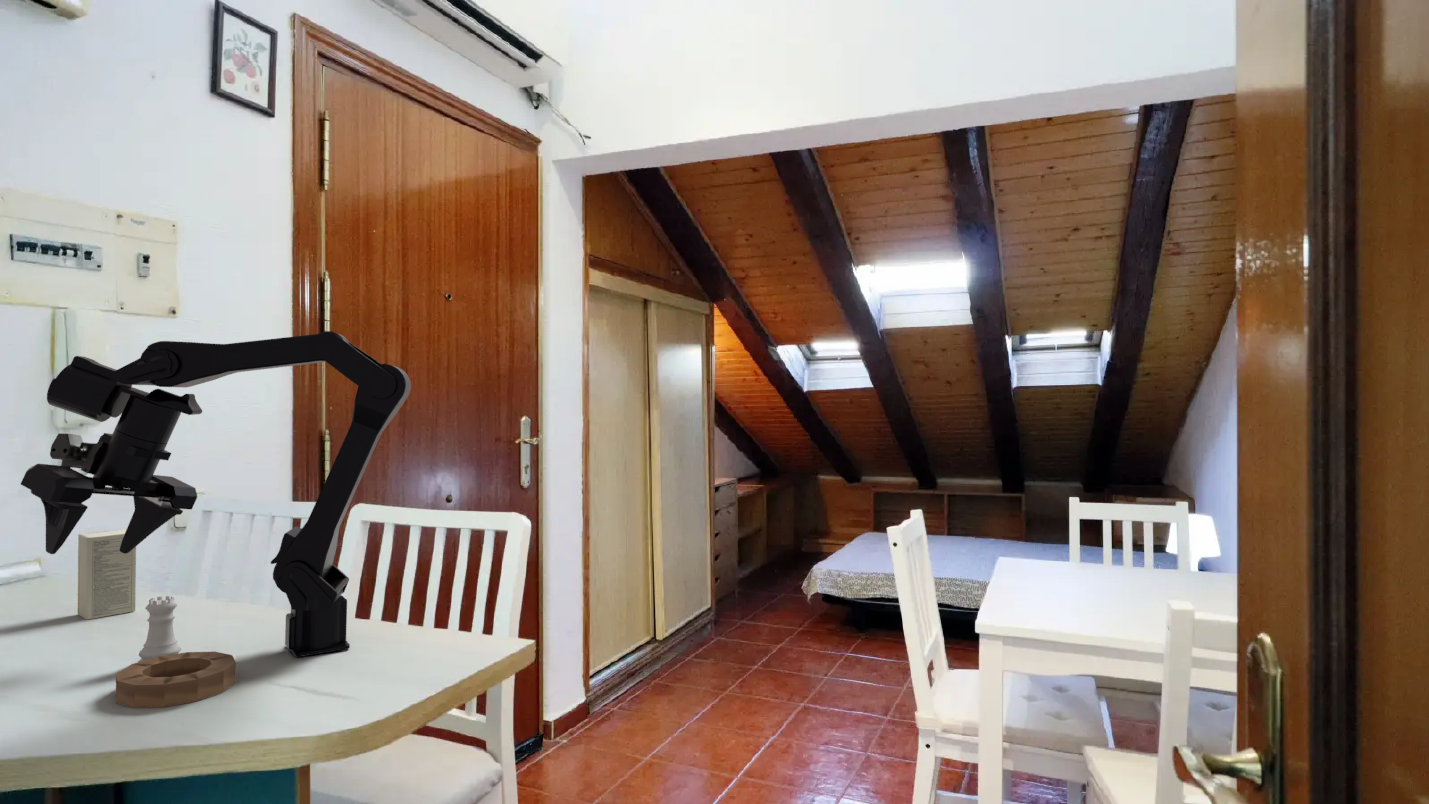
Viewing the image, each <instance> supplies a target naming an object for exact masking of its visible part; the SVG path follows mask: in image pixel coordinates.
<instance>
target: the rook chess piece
mask: <svg viewBox="0 0 1429 804" xmlns="http://www.w3.org/2000/svg"><path fill="white" fill-rule="evenodd" d="M177 607H178V604H177V603H176V601H175V597H174V596H171V595H167V596H165V599H163V596H157V597H156V598H155V597H152V598H150V599H149V600H148V604H147V605H146V606H145V608H144V609H145V610H146V611H147V612H148V613H149V617H148V619H146V621H147V622H148V629H147V630H148V631H147V636H146V640H145V643H144V644H143V648H142V649H141V650H140V651H139V653H138V656H139V657H140V659H139V660H138V661H137V662H141V661H144V660H148V659H151V658H155V657H158V656H165V655H172V654H179V653H180V652H181V650H182V648H181V646H180V645H179V644H178V640H177V639H176V638H175V632H174V619H175V618H176V617H175V615H174V614H173V613H174V610H175V609H176V608H177Z"/></svg>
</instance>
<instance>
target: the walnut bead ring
mask: <svg viewBox="0 0 1429 804" xmlns="http://www.w3.org/2000/svg"><path fill="white" fill-rule="evenodd" d="M236 665H237V661H236V660H235V657H234V656H233V654H229V653H225V652H224V653H223V652H219V651H186V652H181V653H180V652H179V653H178V654H172V655H165V656H158V657H155V658H151V659H148V660H144V661H141V662H138V661H137V662H134V663H131V664H130V665H128V666H125V667H124V668H122V669H121V670H119V671H117V672H115V701H116V702H115V704H118V705H121V706H127V707H129V708H134V709H137V708H140V709H141V708H143V709H144V708H165V707H166V708H168V707H171V706H178V705H183V704H188V703H194V702H199V701H201V700H204V699H208V698H210V697H212V696H216V695H218V694H222V693H223V692H225V691H227V690H228V689H229V688H230V687H231V686H233V685H234V684H236V674H237V673H236V670H237V669H236V668H237V666H236Z"/></svg>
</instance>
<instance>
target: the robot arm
mask: <svg viewBox="0 0 1429 804" xmlns="http://www.w3.org/2000/svg"><path fill="white" fill-rule="evenodd" d="M319 363H327V364H329V365H330V366H331V367H332V368H334V369H335V370H337V371H338V372H339V373H340V374H342V375H343V376H344V377H345V378H347V379H349V380H350V381H351V382H353V383H354V384H355V385H357V386H358V387H357V390H356V395H355V399H354V404H353V409H352V418H351V423H350V426H349V428H348V430H347V433H346V435H345V437H344V439H343V441H342V443H341V447H340V449H339V451H338V453H337V455H336V457H335V459H334V462H333V464H332V466H331V468H330V471H329V472H328V474H327V478H326V479H325V481H324V483H323V486H322V488H321V491H320V493H319V494H318V497H317V500H316V501H315V504H314V506H313V508H312V511H311V513H310V515H309V517H308V519H307V521H306V523H305V524H304V525H303V526H302V528H301V527H299V526H297V525H296V526H293V528H291V529H289V530H288V531H286V532H285V533H283V536H282V540H281V543H280V547H279V550H278V553H277V554H276V555H275V557H274V558H273V559H272V560H271V561H270V564H271V565H274V564H275V566H274V568H273V571H272V580H273V581H274V583H275V586H276V588H278V589H279V590H280V591H281V592H282V593H284V594H286V597H287V599H288V603H289V605H290V612H289V613H286V614H285V630H284V632H285V633H284V634H285V636H284V645H285V646H286V647H287V649H288V650H289V651H290V652H291V653H292V655H294V657H295V658H299V657H306V656H312V655H317V654H318V655H319V654H324V653H330V652H336V651H342V650H348V649H350V645H351V644H350V643H349V642H348V641H347V620H348V618H347V617H348V616H347V615H348V611H347V610H348V599H347V598H346V597H344V596H343V595H342V594H344V593H345V591H346V589H347V587H348V584H349V582H350V578H349V577H348V576H347V574H345V573H344V572H343V571H342V570H340V569H339V568H338V567H337V566H336V565H335V564H333V563H334V560H335V555H336V552H337V551H336V550H337V547H338V542H339V541H338V540H339V533H340V527H341V524H342V523H343V520H344V518H345V516H346V514H347V511H348V510H349V507H350V504H351V502H352V500H353V498H354V496H355V493H356V491H357V489H358V486H359V484H360V482H361V480H362V478H363V476H364V473H365V471H366V469H367V466H368V464H369V462H370V460H371V458H372V455H373V453H374V452H375V451H374V450H375V448H376V447H377V444H378V443H379V440H380V437H381V435H382V433H383V432H384V431H385V429H386V428H387V427H388V425H389V424H390V423H391V421H392V420H393V418H394V417H395V416H396V415H397V414H398V412H399V411H400V409H401V407H403V405H404V403H405V402H406V400H408V397H409V395H410V393H411V391H412V381H411V379H410V378H409V375H408V374H407V373H406V372H405V370H404V369H402V368H401V367H398V366H396V365H391V364H387V363H381V362H379V361H378V360H377V359H375V358H374V357H372V356H371V355H369V354H368V353H366V352H365V351H363V350H362V349H360V348H359V347H357V346H355V345H354V344H353V343H351V342H350V341H349V340H348V339H347V338H346V337H345V336H344V335H343V334H340V333H337V332H335V331H330V330H329V331H328V330H326V331H321V332H319V333H316V334H315V333H314V334H307V335H297V336H288V337H279V338H278V337H277V338H271V339H269V338H268V339H261V340H260V339H259V340H250V341H242V342H234V343H208V342H207V343H206V342H205V343H204V342H193V341H173V340H161V341H156V342H153V343H151V344H149V345H147V347H146V348H145V350H143V352H142V353H141V356H140V357H139V358H138V359H136V360H134V361H132V362H130V363H128V364H126V365H123V366H122V367H120V368H118V369H116V368H114V367H113V368H112V367H110V366H108V365H104V364H103V363H102V364H101V363H99V362H98V361H97V360H95V359H92V358H89V357H87V356H82V355H75V356H74V357H73V359H72V361H71V363H70V364H68V365H67V366H65V367H64V368H63V369H62V370H61V371H60V372H59V373H58V374H57V376H56V377H55V378H53V379H52V380H51V382H50V384H49V386H48V389H47V392H46V393H47V394H46V401H47V403H48V405H50V406H53V407H55V408H59V409H61V410H64V411H67V412H71V413H72V414H76V415H79V416H82V417H84V418H88V419H91V420H94V421H97V422H99V423H103V422H106V421H107V420H109V419H111V418H116V419H117V417H119V419H118V421H117V424H116V425H115V428H114V429H113V432H112V433H109V432H107V433H106V432H104V433H103V434H102V435H101V436H99V439H98V441H97V443H94V442H93V443H91V442H85V441H84V442H83V438H82V435H79V434H73V433H58V434H57V436H55V438H54V441H53V442H52V443H51V446H50V452H49V456H50V458H51V459H53V460H61V465H59V464H58V465H57V464H56V465H55V464H47V463H45V464H44V463H36V464H35V465H32V466H30V467H29V468H28V469H27V470H26V472H25V474H24V476H23V478H22V479H21V482H20V485H21V486H23V487H25V488H27V489H28V490H30V494H31V495H34V496H36V497H37V498H39V499H40V501H41V502H42V504H43V508H44V515H45V552H46V553H48V554H50V555H55V554H56V553H57V552H58V551H59V550H60V548H62V546H63V545H64V543H65V542H66V540H67V539H68V537H69V536H70V535H71V533H72V531H73V530H74V529H75V527H76V526H77V524H78V523H79V521H80V520H81V518H82V517H83V515H84V514H85V512H86V511H87V509H88V508H89V506H87V505H85V504H84V502H86V501H87V500H89V499H91V497H92V496H93V494H96V495H109V496H110V495H111V496H124V497H125V496H126V497H133V504H134V512H133V513H132V516H131V518H130V521H129V523H128V525H127V528H126V529H127V530H126V532H125V535H124V537H123V539H122V543H121V546H120V552H122V553H124V554H127V553H129V552H130V551H131V550H132V549H133V548H135V547H136V548H137V546H138V545H140V544H141V543H142V542H143V541H145V539H147V537H149V536H150V535H151V534H153V533H154V532H155V531H156V530H158V529H159V528H161V527H162V526H163V525H164V524H165V523H167V522H169V521H170V520H172V519H173V517H175V516H179V515H182V514H183V510H193V508H194V505H195V503H196V501H197V499H198V493H197V489H196V487H194V486H192V485H190V484H188V483H186V482H184V481H182V480H180V479H179V478H176V477H175V476H168V475H158V474H155V472H156V470H157V467H158V464H159V463H160V461H161V460H162V461H169V459H170V457H171V455H172V452H170V451H168V450H166V447H167V446H168V445H167V444H168V442H169V441H170V439H171V436H172V433H173V431H174V429H175V427H176V425H177V423H178V421H179V418H180V416H181V415H182V414H185V415H187V416H190V415H191V416H193V415H194V416H195V415H201V414H202V413H203V409H202V408H201V406H200V405H199V404H198V402H197V400H196V395H195V394H194V393H184V394H183V395H178V394H175V393H173V392H169V391H166V390H163V389H161V388H162V387H163V388H190V387H194V386H197V385H201V384H205V383H208V382H212V381H214V380H215V381H216V380H217V379H220V378H223V377H226V376H229V375H233V374H236V373H242V372H251V371H258V370H260V371H261V370H268V369H270V370H271V369H276V368H286V367H294V366H303V365H304V366H305V365H310V364H311V365H312V364H319ZM133 385H134V386H155V387H161V388H155V389H153V390H151V391H150V392H147V391H145V390H141V389H138V388H136V387H133ZM73 468H75V469H73ZM76 469H80V471H82V472H83V473H85V474H89V475H93V476H91V477H90V476H87V475H84V474H83V473H81V472H79V471H77V470H76Z"/></svg>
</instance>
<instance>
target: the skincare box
mask: <svg viewBox="0 0 1429 804" xmlns="http://www.w3.org/2000/svg"><path fill="white" fill-rule="evenodd" d="M126 530H127V528H122V529H121V528H119V529H111V530H104V531H96V532H93V531H92V532H87V533H86V532H85V533H79V534H77V535H78V547H77V549H78V550H77V553H78V554H77V559H78V560H77V561H78V562H77V563H78V565H77V579H78V580H77V615H79V616H80V617H81V618H83V619H85V620H92V619H99V618H104V617H109V616H113V615H121V614H125V613H131V612H136V602H137V601H136V598H137V597H136V595H137V593H136V591H137V589H136V588H137V586H136V584H137V583H136V582H137V580H136V579H137V578H136V577H137V546H136V547H135V548H133V549H132V550H131V551H130V552H129V553H127V554H124V553H122V552H120V546H121V543H122V539H123V537H124V535H125V532H126Z"/></svg>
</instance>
